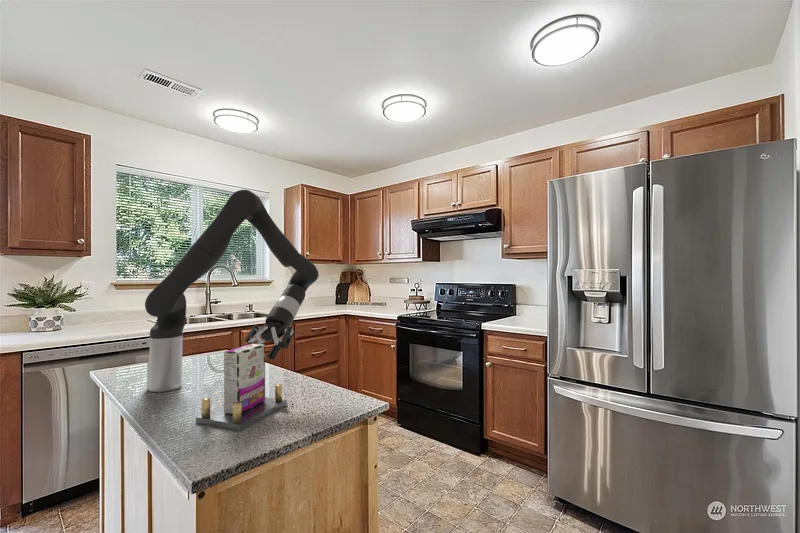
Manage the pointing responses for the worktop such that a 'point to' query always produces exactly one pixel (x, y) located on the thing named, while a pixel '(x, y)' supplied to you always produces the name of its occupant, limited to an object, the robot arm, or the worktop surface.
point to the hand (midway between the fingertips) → (257, 357)
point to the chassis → (238, 419)
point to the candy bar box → (244, 377)
